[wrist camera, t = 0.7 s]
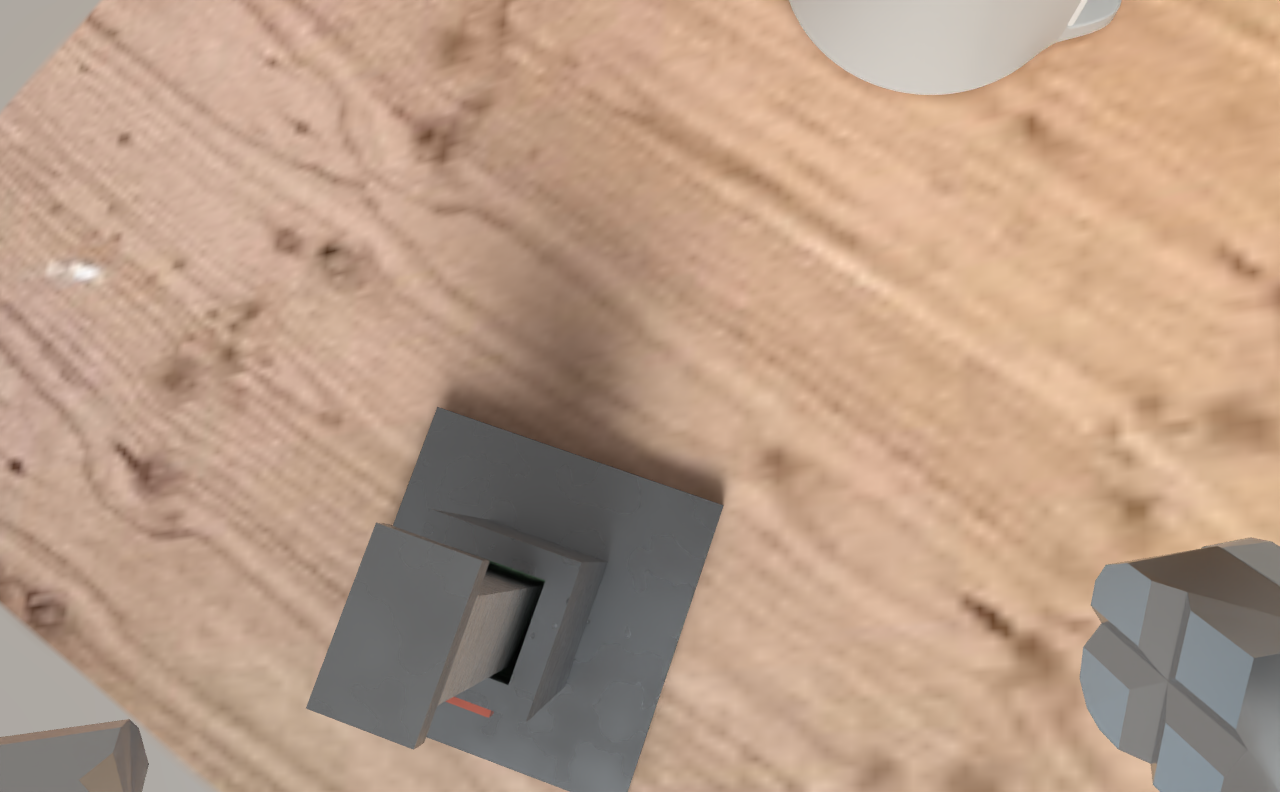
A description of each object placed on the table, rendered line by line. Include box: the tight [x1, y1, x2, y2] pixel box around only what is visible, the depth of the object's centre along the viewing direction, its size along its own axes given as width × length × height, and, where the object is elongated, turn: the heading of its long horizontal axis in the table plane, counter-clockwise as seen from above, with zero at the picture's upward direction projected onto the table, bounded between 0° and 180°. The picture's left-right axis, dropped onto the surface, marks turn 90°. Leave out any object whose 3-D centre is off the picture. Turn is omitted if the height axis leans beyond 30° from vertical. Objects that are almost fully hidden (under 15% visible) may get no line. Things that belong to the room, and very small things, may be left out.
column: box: [306, 523, 546, 749], centre depth 37 cm, size 5×3×20 cm, turn 161°
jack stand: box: [393, 407, 723, 792], centre depth 43 cm, size 14×14×12 cm
